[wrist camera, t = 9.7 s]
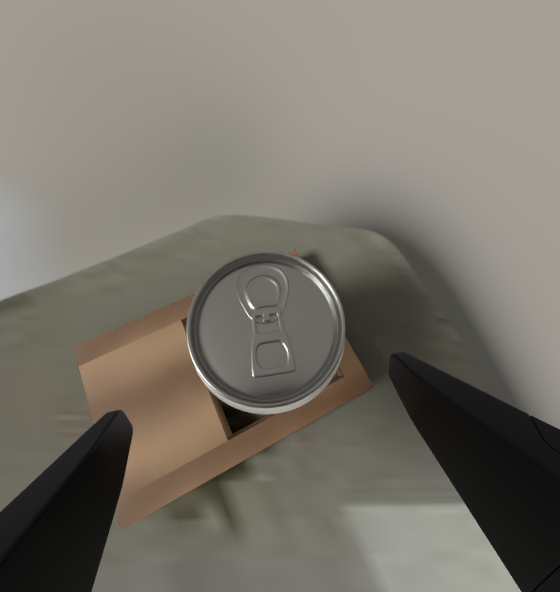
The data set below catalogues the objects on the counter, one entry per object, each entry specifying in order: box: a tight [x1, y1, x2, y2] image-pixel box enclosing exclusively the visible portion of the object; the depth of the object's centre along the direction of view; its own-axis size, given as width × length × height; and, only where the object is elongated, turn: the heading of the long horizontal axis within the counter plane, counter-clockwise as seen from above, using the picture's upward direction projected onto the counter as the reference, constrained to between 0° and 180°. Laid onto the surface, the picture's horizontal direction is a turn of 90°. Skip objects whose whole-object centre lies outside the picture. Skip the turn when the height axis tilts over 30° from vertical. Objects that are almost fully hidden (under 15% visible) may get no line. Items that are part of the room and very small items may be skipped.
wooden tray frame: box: [74, 250, 374, 530], centre depth 19 cm, size 12×18×2 cm, turn 117°
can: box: [186, 251, 346, 414], centre depth 15 cm, size 6×6×12 cm
